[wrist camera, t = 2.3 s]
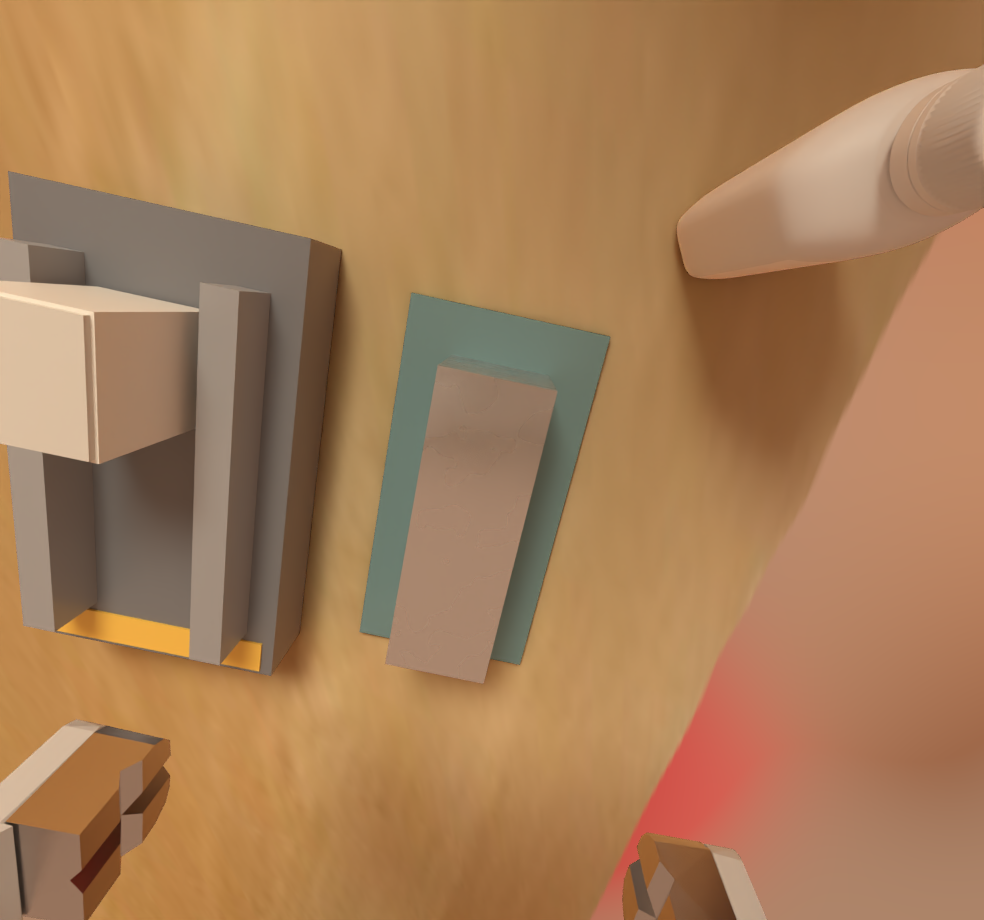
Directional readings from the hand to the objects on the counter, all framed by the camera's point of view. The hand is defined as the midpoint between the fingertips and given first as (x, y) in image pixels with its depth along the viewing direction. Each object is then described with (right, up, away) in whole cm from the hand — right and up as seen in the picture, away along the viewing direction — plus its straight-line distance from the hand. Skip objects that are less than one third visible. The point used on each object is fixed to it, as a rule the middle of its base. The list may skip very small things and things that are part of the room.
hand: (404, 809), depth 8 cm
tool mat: (+1, +4, +13) cm, 14 cm away
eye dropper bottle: (+11, +15, +10) cm, 21 cm away
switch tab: (-10, +10, +9) cm, 17 cm away
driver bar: (+1, +4, +13) cm, 14 cm away
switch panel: (-11, +7, +13) cm, 19 cm away
